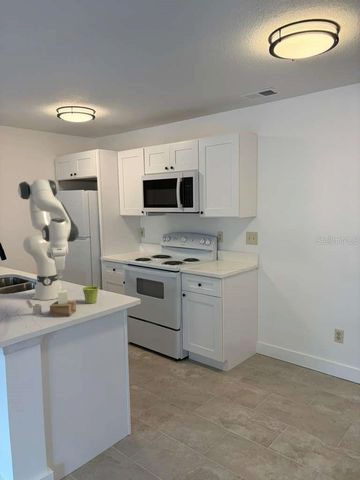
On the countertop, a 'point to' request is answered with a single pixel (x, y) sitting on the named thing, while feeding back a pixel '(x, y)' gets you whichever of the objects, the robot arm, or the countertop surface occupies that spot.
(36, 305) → the lighter
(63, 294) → the sage block
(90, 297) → the plant pot
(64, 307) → the walnut block
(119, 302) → the countertop surface
